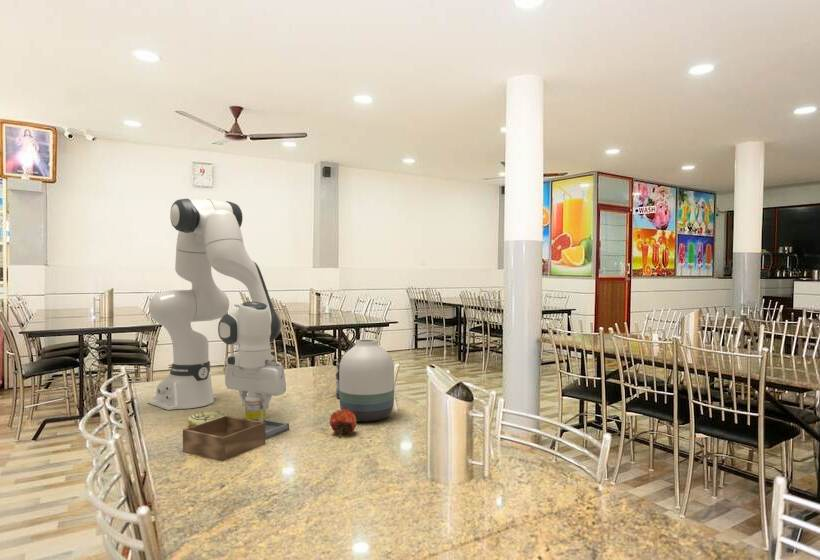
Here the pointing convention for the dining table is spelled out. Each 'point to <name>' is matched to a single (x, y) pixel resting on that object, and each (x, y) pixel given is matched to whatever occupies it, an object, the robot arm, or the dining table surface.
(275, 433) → the tray
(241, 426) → the box
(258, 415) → the supplement bottle
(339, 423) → the pomegranate
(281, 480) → the dining table surface
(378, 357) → the vase
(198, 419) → the decorated donut
